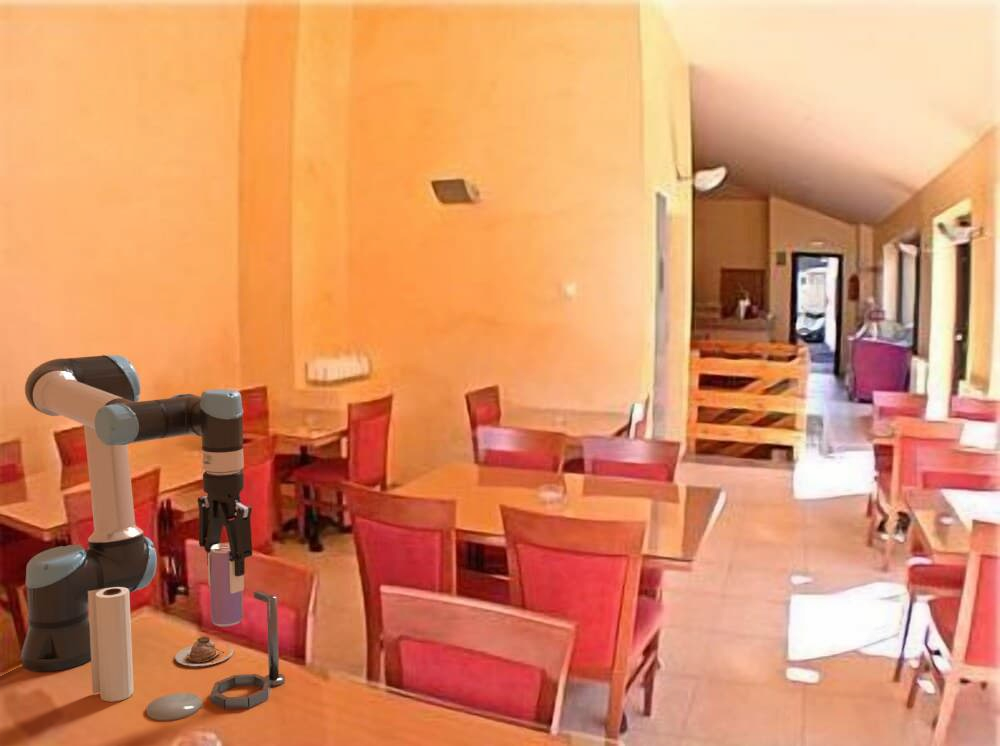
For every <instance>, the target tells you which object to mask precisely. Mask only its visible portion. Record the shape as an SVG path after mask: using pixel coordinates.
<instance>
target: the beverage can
mask: <svg viewBox="0 0 1000 746" xmlns="http://www.w3.org/2000/svg"><path fill="white" fill-rule="evenodd" d="M237 553H238V552H237ZM209 558H210V585H209V586H210V587H209V589H210V591H209V592H210V594H209V595H210V620H211V622H212V623H213V625H215V626H217V627H231V626H235V625H237V624H239V623H240V622H241V621H242V620H243V618H244V611H243V610H244V598H243V590H242V591H239V592H236V593H233V594H232V593H230V575H229V559H230V558H232V555H231V550H230V545H229V542H220V543H219V544H216V545H213V546H211V548H210V553H209Z"/></svg>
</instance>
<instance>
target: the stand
mask: <svg viewBox="0 0 1000 746" xmlns="http://www.w3.org/2000/svg"><path fill="white" fill-rule="evenodd" d="M253 597H254V598H253V599H256V600H259V601H262V602H265V603H266V611H267V613H266V616H267V617H266V620H267V649H268V650H267V652H268V653H267V654H268V655H267V656H268V658H267V659H268V674H266V675H265V676H262V675H260V674H256V673H248V674H245V673H244V674H233V675H231V676H228V677H226V678H223V679H221V680H218V681H217V682H214V684H213V687H212V689H211V692H210V702H211V704H213V705H214V706H217V707H219V708H220V709H223V710H240V709H241V710H243V709H244V710H245V709H246V710H247V709H251V708H253V707H255V706H257V705H258V706H259V704H262V703H265V702H266V701H268V700H269V697H270V693H271V687H272V688H273V687H274V688H275V687H278V686H281V685H282V686H283V684H285V682H286V675H285V674H282V673H280V662H279V632H278V631H279V629H278V628H279V622H278V618H279V617H278V595H276V594H270V593H266V592H264V591H261V590H257V591H254V592H253ZM252 686H254V687H256V688H258V689H260V690H258V691H256V692H254V693H251V694H249V695H245V696H244V695H243V696H241V695H240V696H230V697H229V696H227V695H224V694H222V693H224V692H226V691H228V690H231V689H233V688H235V687H252Z"/></svg>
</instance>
